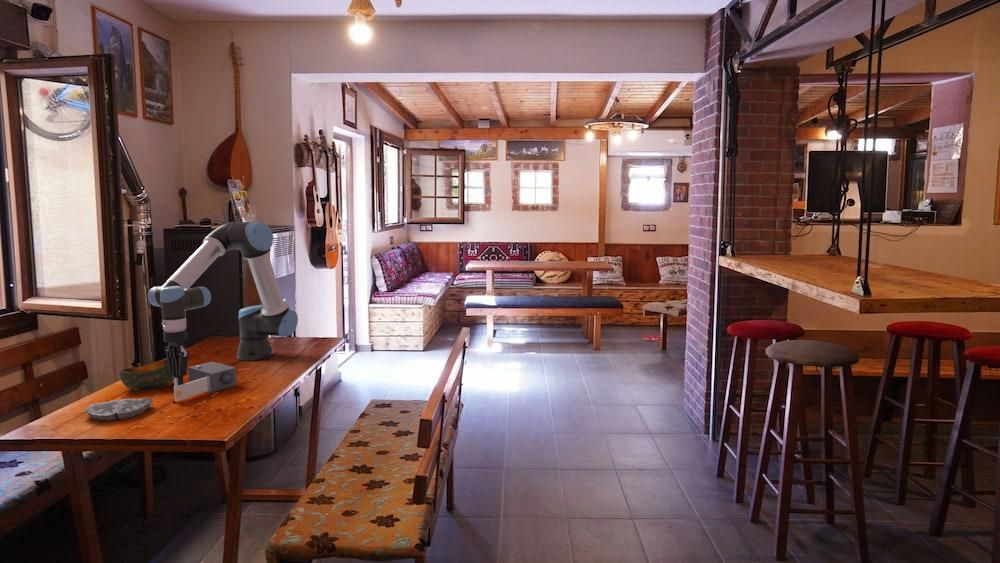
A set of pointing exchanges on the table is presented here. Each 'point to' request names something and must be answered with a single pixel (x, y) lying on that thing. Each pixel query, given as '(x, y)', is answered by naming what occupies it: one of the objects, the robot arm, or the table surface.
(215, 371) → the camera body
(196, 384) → the door
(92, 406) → the brain slice
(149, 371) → the cup
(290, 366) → the table surface
